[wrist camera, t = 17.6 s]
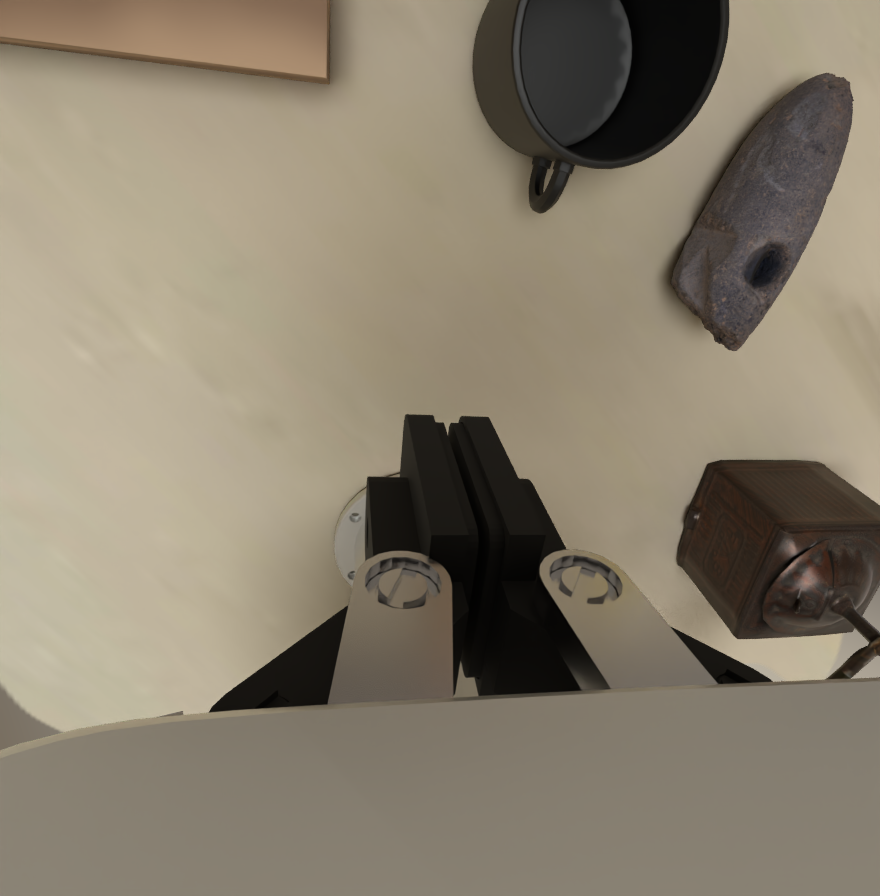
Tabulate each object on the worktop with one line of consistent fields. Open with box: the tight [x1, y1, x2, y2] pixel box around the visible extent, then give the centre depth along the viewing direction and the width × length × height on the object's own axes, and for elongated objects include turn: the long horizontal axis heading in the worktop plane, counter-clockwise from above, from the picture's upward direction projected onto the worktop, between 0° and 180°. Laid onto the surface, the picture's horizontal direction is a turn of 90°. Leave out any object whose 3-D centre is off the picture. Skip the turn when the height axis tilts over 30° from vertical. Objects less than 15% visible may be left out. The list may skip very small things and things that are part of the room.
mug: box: [473, 0, 729, 213], centre depth 29 cm, size 9×12×9 cm
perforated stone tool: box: [671, 73, 854, 351], centre depth 34 cm, size 15×5×7 cm, turn 159°
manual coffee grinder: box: [677, 460, 880, 680], centre depth 43 cm, size 16×11×18 cm
